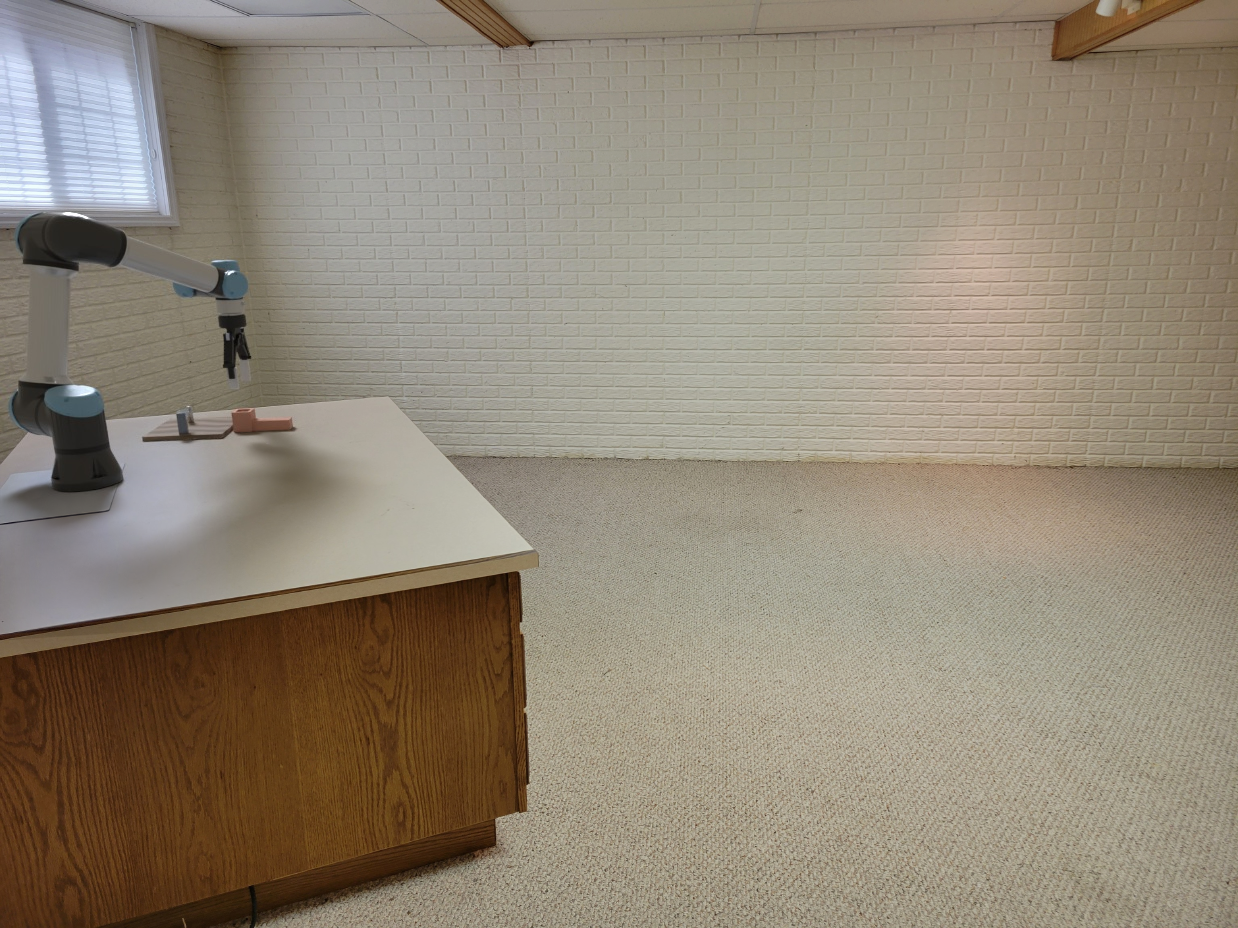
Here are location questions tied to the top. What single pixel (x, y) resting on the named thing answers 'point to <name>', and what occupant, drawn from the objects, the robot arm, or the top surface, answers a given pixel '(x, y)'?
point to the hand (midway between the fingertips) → (240, 385)
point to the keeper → (182, 421)
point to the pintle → (190, 414)
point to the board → (192, 429)
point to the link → (258, 421)
